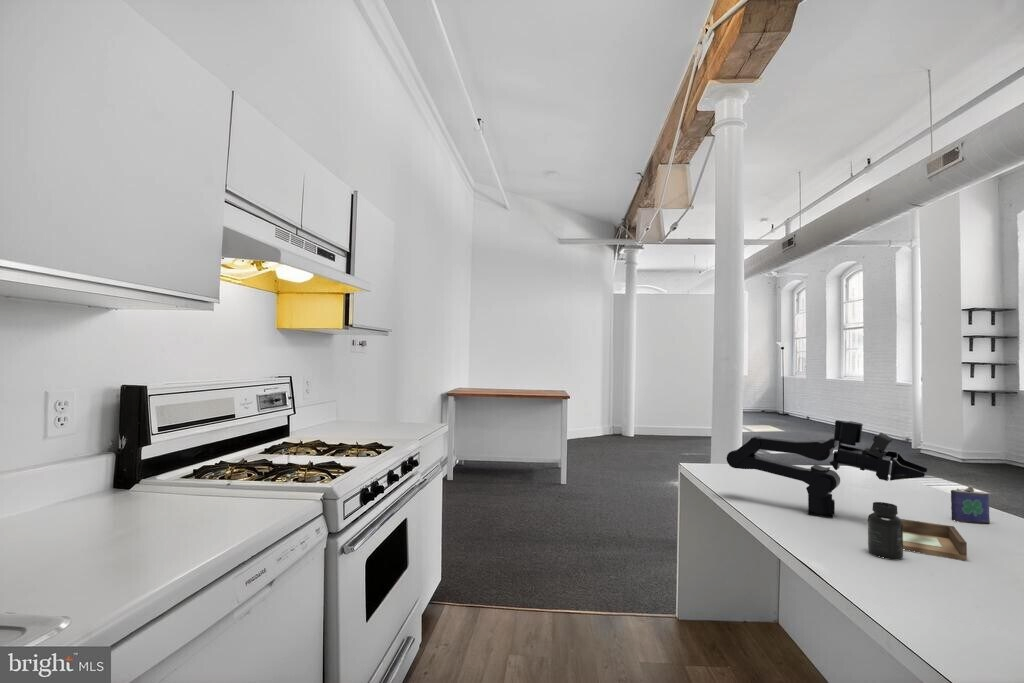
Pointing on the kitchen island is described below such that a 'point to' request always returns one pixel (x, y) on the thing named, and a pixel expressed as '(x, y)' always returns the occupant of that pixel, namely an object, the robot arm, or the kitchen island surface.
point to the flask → (970, 506)
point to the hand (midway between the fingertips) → (925, 472)
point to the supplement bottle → (885, 531)
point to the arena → (933, 539)
